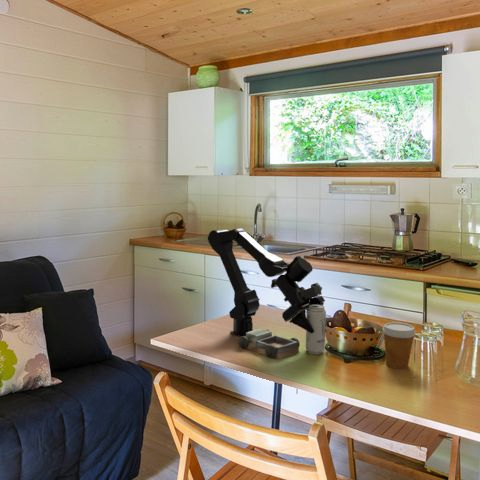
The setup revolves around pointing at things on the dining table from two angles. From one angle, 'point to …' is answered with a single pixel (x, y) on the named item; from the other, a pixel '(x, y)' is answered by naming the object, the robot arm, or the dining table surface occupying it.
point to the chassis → (269, 343)
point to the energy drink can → (316, 329)
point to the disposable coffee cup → (398, 344)
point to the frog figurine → (381, 340)
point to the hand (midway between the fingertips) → (319, 329)
